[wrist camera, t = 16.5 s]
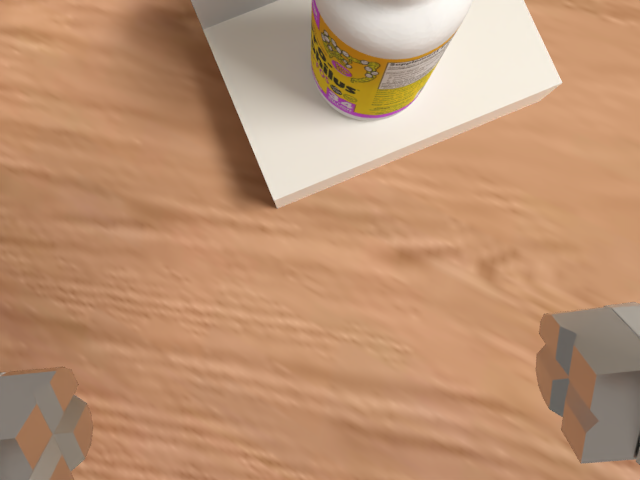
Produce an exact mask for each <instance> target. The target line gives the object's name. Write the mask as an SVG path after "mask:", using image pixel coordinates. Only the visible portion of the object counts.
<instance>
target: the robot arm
mask: <svg viewBox="0 0 640 480" xmlns="http://www.w3.org/2000/svg"><path fill="white" fill-rule="evenodd" d="M539 334H540V336H541V337H542V339H543V340H544V342H545V345H544V347H543V348H542V349H541V350H540V351H539V352H538V353H537V357H536V375H537V381H538V386H539V389H540V391H541V394H542V397H543V399H544V401H545V402H546V404H547V406H548V408H549V409H550V410H552V411H553V412H555V413H557V414H558V415H560V416H562V417H563V420H562V427H561V431H562V432H563V434H564V436H565V437H566V439H567V441H568V442H569V444H570V446H571V448H572V449H573V451H574V453H575V454H576V456H577V458H578V460H579V461H580V463H594V462H607V461H619V460H632V459H636V462H637V463H638V464H639V465H640V304H638V303H636V302H630V303H622V304H615V305H608V306H604V307H599V308H591V309H582V310H573V311H565V312H556V313H547V314H544V315H543V317H542V319H541V321H540V329H539ZM78 385H79V384H78V382H77V380H76V378H75V376H74V374H73V372H72V370H71V369H68V368H66V367H56V368H44V369H33V370H22V371H10V372H7V373H5V372H3V373H0V480H74V478H73V475H72V473H71V471H72V470H73V469H74V468H75V467H76V466H78V465H79V464H80V463H81V462H82V461H83V460H84V459H85V458H86V455H87V453H88V451H89V448H90V446H91V441H92V433H93V422H92V416H91V412H90V410H89V407H88V405H87V403H85V402H84V401H83V400H81V399H80V398H78V397H77V396H75V395H74V394H75V391H76V389H77V387H78Z"/></svg>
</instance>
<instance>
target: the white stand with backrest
mask: <svg viewBox="0 0 640 480" xmlns="http://www.w3.org/2000/svg"><path fill="white" fill-rule="evenodd" d="M191 2H192V5H193V7H194V9H195V12H196V14H197V17H198V19H199V21H200V24H201V26H202V28H203V31H204V33H205V36H206V38H207V40H208V43H209V45H210V48H211V50H212V53H213V55H214V57H215V60H216V62H217V65H218V67H219V69H220V72H221V74H222V77H223V79H224V82H225V84H226V86H227V89H228V91H229V94H230V96H231V98H232V101H233V103H234V106H235V108H236V111H237V113H238V115H239V118H240V120H241V123H242V125H243V127H244V130H245V132H246V135H247V137H248V139H249V142H250V144H251V147H252V149H253V152H254V154H255V156H256V159H257V161H258V164H259V166H260V168H261V171H262V173H263V176H264V178H265V181H266V183H267V185H268V188H269V190H270V193H271V195H272V197H273V200H274V202H275V204H276V207H277V209H278V208H280V207H283V206H285V205H287V204H290V203H292V202H295V201H297V200H300V199H302V198H305V197H307V196H309V195H312V194H314V193H317V192H319V191H322V190H324V189H327V188H329V187H331V186H334V185H336V184H339V183H341V182H344V181H346V180H349V179H351V178H353V177H356V176H358V175H361V174H363V173H366V172H368V171H370V170H373V169H375V168H378V167H380V166H383V165H385V164H388V163H390V162H392V161H395V160H397V159H400V158H402V157H405V156H407V155H410V154H412V153H414V152H417V151H419V150H422V149H424V148H427V147H429V146H432V145H434V144H436V143H439V142H441V141H444V140H446V139H449V138H451V137H454V136H456V135H458V134H461V133H463V132H466V131H468V130H471V129H473V128H476V127H478V126H480V125H483V124H485V123H488V122H490V121H493V120H495V119H498V118H500V117H502V116H505V115H507V114H510V113H512V112H515V111H517V110H520V109H522V108H524V107H527V106H529V105H532V104H534V103H537V102H539V101H541V100H542V99H543V98H544V97H545V96H547V95H548V94H549V93H550V92H552V91H553V90H554V89H555V88H557V87H558V86H559V85H560V84H562V81H561V79H560V77H559V75H558V73H557V71H556V68H555V66H554V64H553V62H552V60H551V58H550V56H549V53H548V51H547V49H546V47H545V45H544V43H543V41H542V39H541V36H540V34H539V32H538V30H537V28H536V26H535V24H534V21H533V19H532V17H531V15H530V13H529V11H528V9H527V7H526V4H525V2H524V0H473V2H472V4H471V7H470V9H469V11H468V13H467V15H466V16H465V18H464V20H463V22H462V24H461V25H460V27H459V28H458V30H457V32H456V34H455V35H454V37H453V38H452V40H451V42H450V43H449V45H448V47H447V49H446V50H445V52H444V54H443V56H442V57H441V59H440V61H439V62H438V64H437V66H436V67H435V69H434V71H433V72H432V74H431V76H430V78H429V79H428V81H427V83H426V84H425V86H424V88H423V90H422V91H421V92H420V94H419V95H418V97H417V98H416V99H415V100H414V102H413V103H412V104H411V105H410V106H408V107H407V108H406V109H405V110H403V111H402V112H400V113H398V114H396V115H394V116H392V117H389V118H386V119H382V120H375V121H365V120H358V119H354V118H351V117H348V116H346V115H344V114H342V113H340V112H338V111H337V110H335V109H334V108H333V107H332V106H331V105H329V104H328V103H327V101H326V100H325V99H324V98H323V97H322V95H321V94H320V92H319V91H318V89H317V87H316V85H315V82H314V79H313V75H312V70H311V11H312V0H191Z"/></svg>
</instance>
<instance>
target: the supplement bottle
mask: <svg viewBox="0 0 640 480" xmlns="http://www.w3.org/2000/svg"><path fill="white" fill-rule="evenodd" d="M472 2H473V0H312V11H311V70H312V75H313V79H314V82H315V85H316V87H317V89H318V91H319V92H320V94H321V95H322V97H323V98H324V99H325V100H326V101H327V103H328V104H329V105H331V106H332V107H333V108H334V109H335V110H337V111H338V112H340V113H342V114H344V115H346V116H348V117H351V118H354V119H358V120H365V121H375V120H382V119H386V118H389V117H392V116H394V115H396V114H398V113H400V112H402V111H403V110H405V109H406V108H407V107H408V106H410V105H411V104H412V103H413V102H414V100H415V99H416V98H417V97H418V95H419V94H420V92H421V91H422V90H423V88H424V86H425V84H426V83H427V81H428V79H429V78H430V76H431V74H432V72H433V71H434V69H435V67H436V66H437V64H438V62H439V61H440V59H441V57H442V56H443V54H444V52H445V50H446V49H447V47H448V45H449V43H450V42H451V40H452V38H453V37H454V35H455V34H456V32H457V30H458V28H459V27H460V25H461V24H462V22H463V20H464V18H465V16H466V15H467V13H468V11H469V9H470V7H471V4H472Z"/></svg>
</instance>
